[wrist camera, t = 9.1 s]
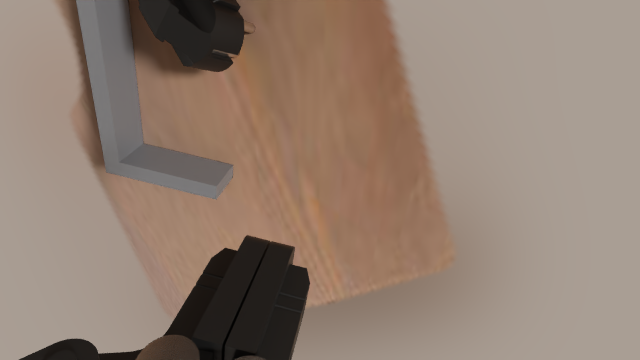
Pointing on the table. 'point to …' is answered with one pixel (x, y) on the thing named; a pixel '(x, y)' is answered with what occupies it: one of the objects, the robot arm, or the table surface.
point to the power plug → (199, 30)
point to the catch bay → (134, 108)
